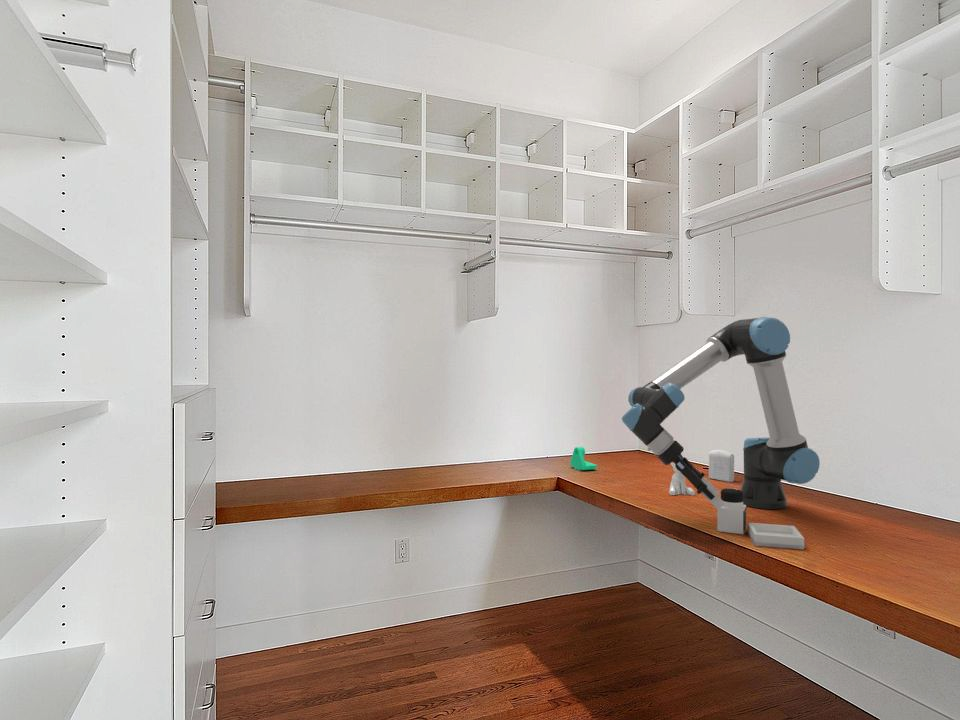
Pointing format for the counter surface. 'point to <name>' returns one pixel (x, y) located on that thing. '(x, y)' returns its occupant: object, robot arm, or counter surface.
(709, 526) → the counter surface
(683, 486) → the white creature statuette
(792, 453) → the robot arm
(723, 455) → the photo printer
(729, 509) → the medicine bottle
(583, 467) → the green angular piece
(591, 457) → the counter surface
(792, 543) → the grey square tray
